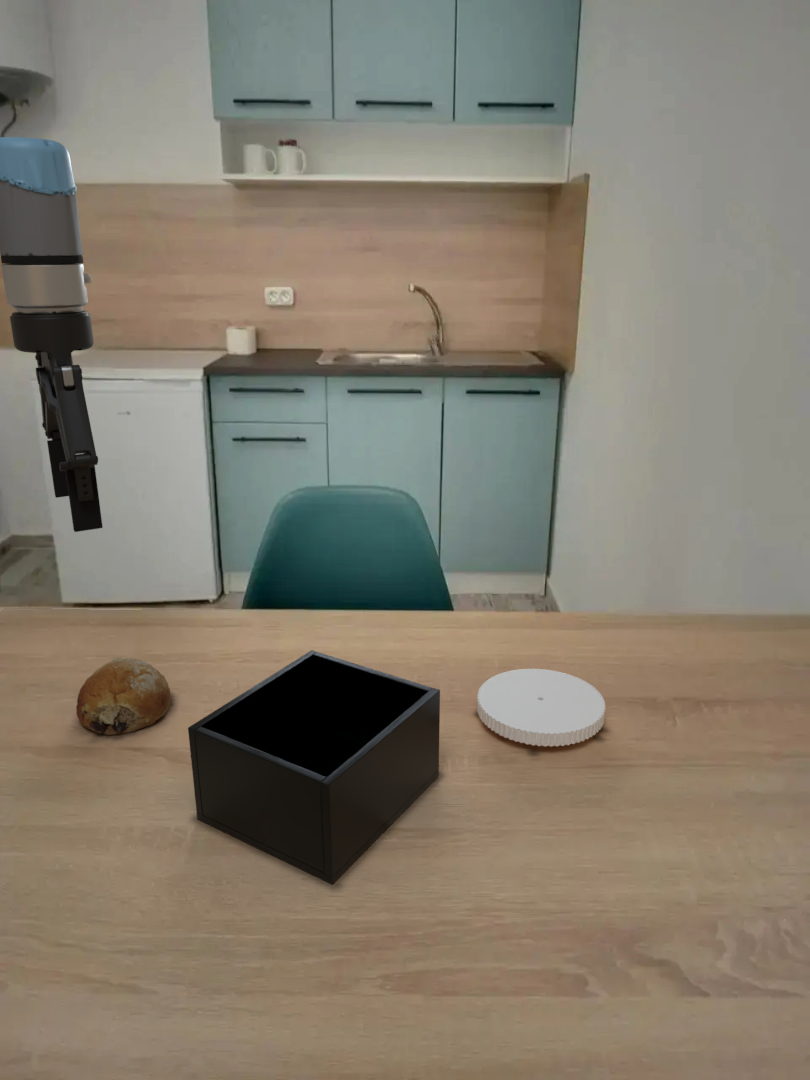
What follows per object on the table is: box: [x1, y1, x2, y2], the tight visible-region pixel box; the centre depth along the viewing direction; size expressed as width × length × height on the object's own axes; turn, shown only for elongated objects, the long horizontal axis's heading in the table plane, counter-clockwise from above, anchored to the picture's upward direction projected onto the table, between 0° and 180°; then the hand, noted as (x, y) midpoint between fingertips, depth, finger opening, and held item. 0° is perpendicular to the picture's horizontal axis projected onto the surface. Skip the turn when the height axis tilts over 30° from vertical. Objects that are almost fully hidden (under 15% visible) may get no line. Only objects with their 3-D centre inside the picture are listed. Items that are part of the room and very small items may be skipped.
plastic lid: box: [476, 667, 606, 748], centre depth 92 cm, size 14×14×2 cm
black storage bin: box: [187, 649, 441, 885], centre depth 78 cm, size 16×18×10 cm
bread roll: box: [76, 657, 171, 736], centre depth 93 cm, size 10×10×8 cm
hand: (77, 511), depth 90 cm, fingers open, 13 cm apart
